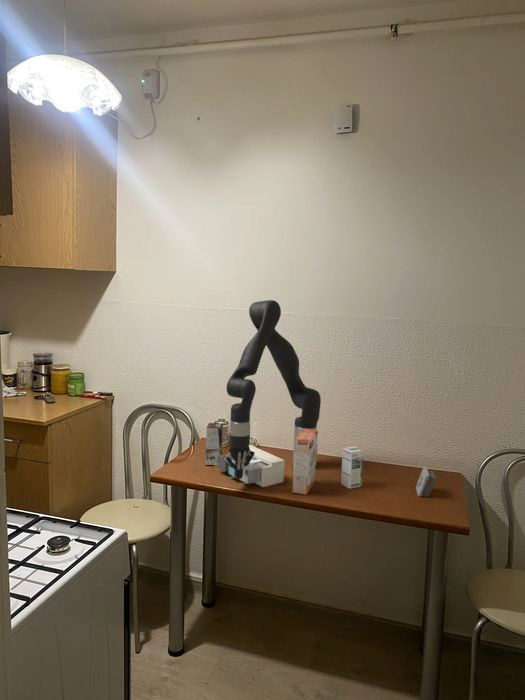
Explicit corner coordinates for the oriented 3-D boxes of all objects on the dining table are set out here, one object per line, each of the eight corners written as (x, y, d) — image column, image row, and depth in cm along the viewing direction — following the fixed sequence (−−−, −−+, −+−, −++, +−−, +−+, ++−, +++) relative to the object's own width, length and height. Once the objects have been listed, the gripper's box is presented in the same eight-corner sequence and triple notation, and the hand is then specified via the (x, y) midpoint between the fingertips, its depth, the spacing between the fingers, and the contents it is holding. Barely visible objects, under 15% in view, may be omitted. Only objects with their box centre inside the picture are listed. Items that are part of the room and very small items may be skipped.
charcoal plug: (238, 463, 211) (239, 451, 211) (245, 466, 208) (246, 454, 207) (218, 467, 205) (218, 455, 205) (225, 471, 201) (225, 459, 201)
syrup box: (349, 489, 194) (352, 451, 192) (340, 483, 199) (342, 447, 197) (361, 487, 196) (364, 450, 195) (352, 481, 202) (354, 445, 200)
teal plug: (249, 468, 206) (250, 456, 205) (257, 472, 202) (257, 460, 201) (228, 473, 200) (229, 461, 199) (235, 477, 196) (236, 464, 195)
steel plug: (261, 474, 200) (261, 462, 199) (268, 478, 196) (269, 465, 195) (239, 479, 194) (240, 466, 193) (247, 484, 190) (248, 470, 189)
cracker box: (307, 495, 186) (310, 439, 184) (291, 493, 188) (294, 437, 185) (315, 482, 199) (318, 429, 197) (300, 480, 201) (303, 427, 199)
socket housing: (248, 464, 217) (249, 444, 215) (283, 481, 198) (284, 460, 197) (228, 468, 210) (229, 448, 209) (262, 487, 192) (263, 464, 191)
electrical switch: (415, 487, 198) (419, 464, 196) (429, 490, 197) (433, 467, 196) (417, 497, 189) (422, 473, 187) (432, 500, 188) (436, 476, 186)
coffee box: (220, 466, 212) (221, 428, 210) (204, 466, 212) (205, 428, 210) (222, 459, 221) (223, 422, 219) (207, 458, 221) (208, 422, 220)
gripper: (248, 427, 195) (247, 471, 197) (218, 432, 187) (217, 478, 189) (260, 432, 189) (258, 478, 191) (230, 438, 181) (229, 485, 183)
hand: (238, 478), depth 190 cm, fingers closed
